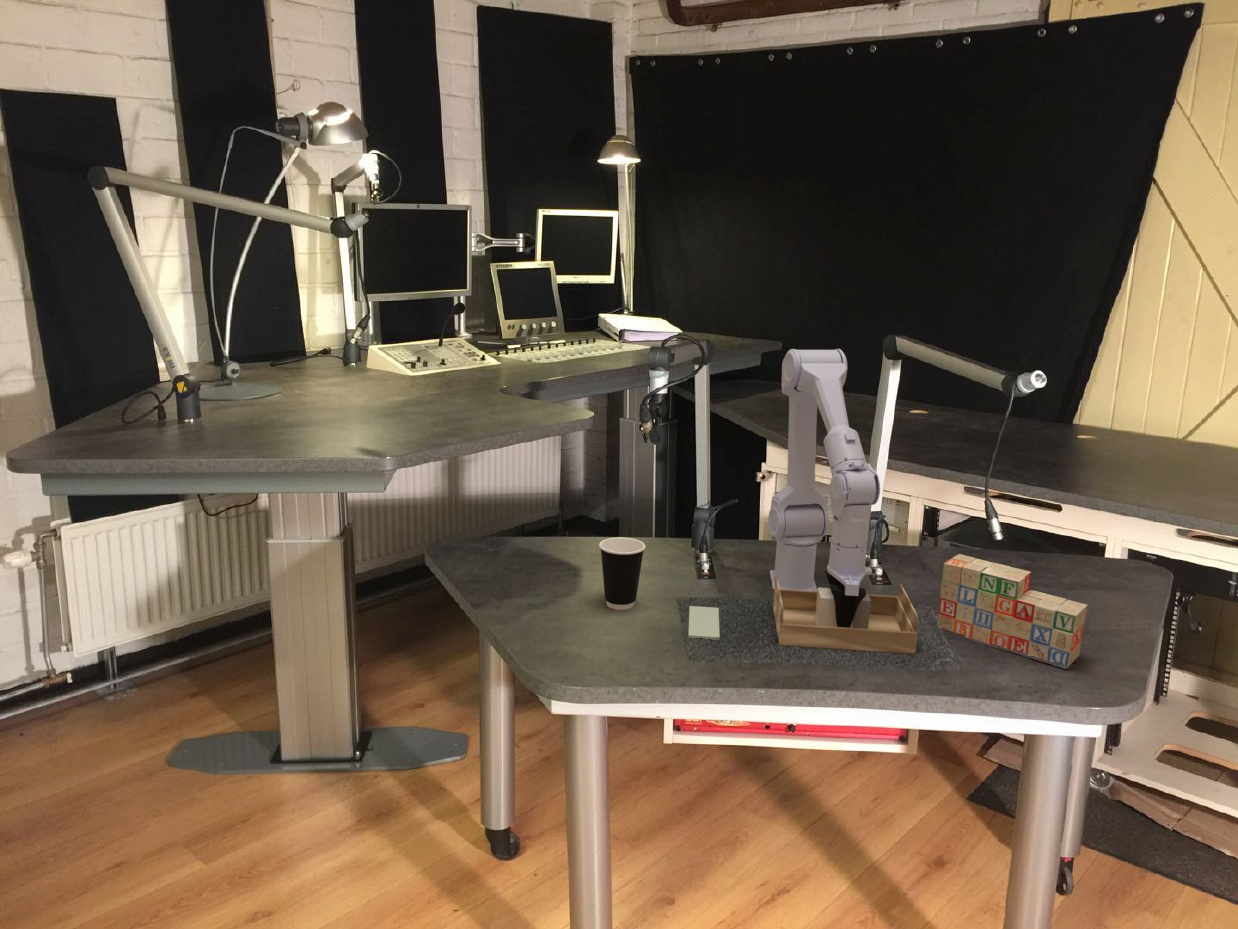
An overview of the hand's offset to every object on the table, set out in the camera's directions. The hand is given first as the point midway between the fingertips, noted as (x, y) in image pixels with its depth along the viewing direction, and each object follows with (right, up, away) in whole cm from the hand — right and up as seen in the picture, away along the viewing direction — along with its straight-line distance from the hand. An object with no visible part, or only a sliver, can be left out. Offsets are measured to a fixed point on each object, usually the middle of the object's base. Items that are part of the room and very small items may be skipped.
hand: (841, 620), depth 164 cm
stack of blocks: (+26, -4, -1) cm, 27 cm away
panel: (-19, -1, +2) cm, 19 cm away
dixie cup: (-36, +1, +9) cm, 38 cm away
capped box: (0, -1, 0) cm, 1 cm away
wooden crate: (0, -2, +1) cm, 2 cm away
